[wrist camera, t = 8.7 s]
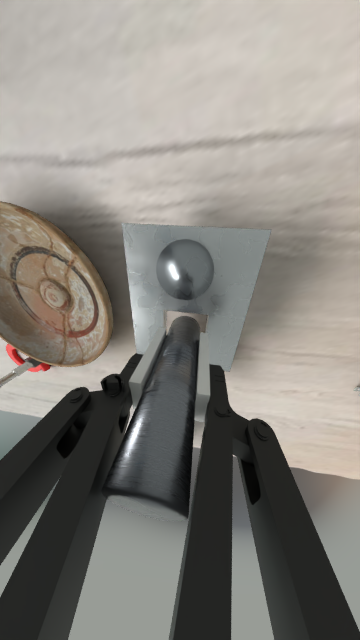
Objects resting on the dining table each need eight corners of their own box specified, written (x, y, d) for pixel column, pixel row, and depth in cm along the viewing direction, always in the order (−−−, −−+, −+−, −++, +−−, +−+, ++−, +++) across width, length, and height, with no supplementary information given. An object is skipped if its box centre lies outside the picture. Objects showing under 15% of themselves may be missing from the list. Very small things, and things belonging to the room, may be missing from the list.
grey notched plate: (148, 229, 18) (94, 216, 9) (248, 234, 17) (297, 223, 8) (154, 362, 28) (131, 415, 20) (216, 371, 27) (221, 433, 18)
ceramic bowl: (154, 300, 22) (142, 314, 18) (87, 366, 32) (68, 385, 28) (9, 157, 17) (-59, 127, 13) (-19, 289, 27) (-63, 298, 22)
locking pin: (171, 314, 16) (91, 477, 5) (201, 317, 16) (192, 503, 4) (170, 339, 18) (109, 506, 6) (198, 343, 17) (185, 527, 6)
